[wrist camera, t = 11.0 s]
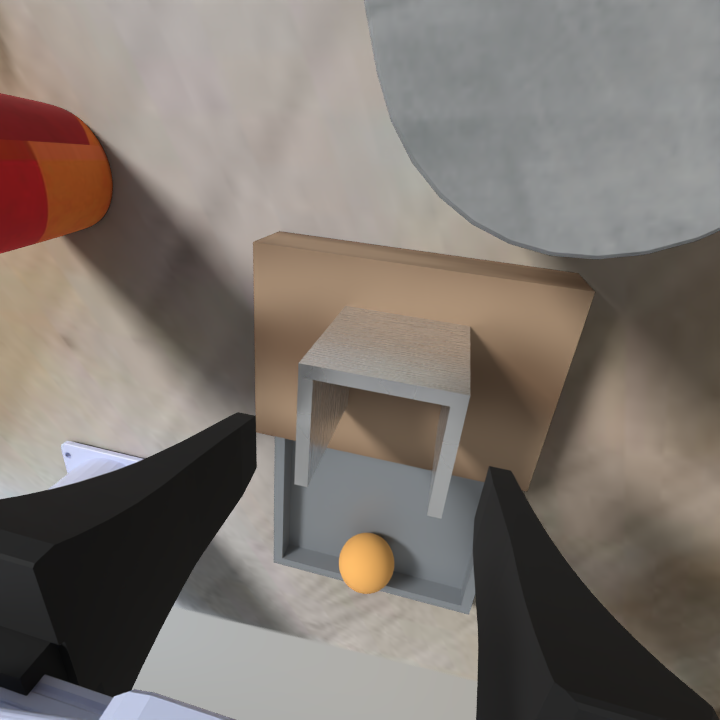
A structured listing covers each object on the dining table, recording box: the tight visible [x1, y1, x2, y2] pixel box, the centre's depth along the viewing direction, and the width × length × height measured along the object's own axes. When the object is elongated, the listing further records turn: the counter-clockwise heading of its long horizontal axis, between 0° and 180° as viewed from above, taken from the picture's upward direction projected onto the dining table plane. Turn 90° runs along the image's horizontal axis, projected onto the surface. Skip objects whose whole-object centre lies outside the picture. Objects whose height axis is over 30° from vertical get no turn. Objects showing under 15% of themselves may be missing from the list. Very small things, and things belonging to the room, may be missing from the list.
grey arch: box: [294, 306, 470, 519], centre depth 17 cm, size 5×5×6 cm
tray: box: [274, 436, 484, 615], centre depth 27 cm, size 11×13×2 cm
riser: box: [253, 231, 595, 492], centre depth 21 cm, size 10×14×3 cm
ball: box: [339, 533, 394, 594], centre depth 27 cm, size 3×3×3 cm
